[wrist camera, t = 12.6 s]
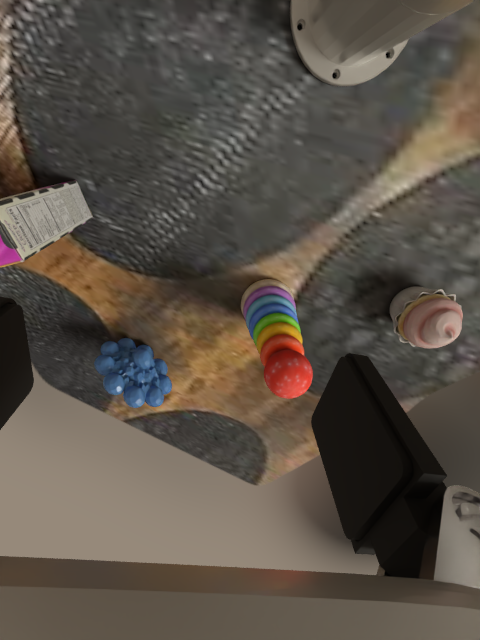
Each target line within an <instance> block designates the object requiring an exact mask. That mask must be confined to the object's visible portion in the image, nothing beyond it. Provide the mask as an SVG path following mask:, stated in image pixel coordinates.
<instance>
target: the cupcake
mask: <svg viewBox="0 0 480 640" xmlns="http://www.w3.org/2000/svg"><path fill="white" fill-rule="evenodd" d="M455 301H456V295H454V294H445V293H444V291H443V290H442V289H436V290H430V289H427V288H424V287H419V286H416V287H409V288H406V289H404V290H402V291H401V292H399V293H398V294H397V295H396V296H395V297H394V298H393V300H392V302H391V304H390V309H389V310H390V315H391V318H392V320H393V323H394V332H395V333H396V334H397V335H399V339H400V341H401V342H403V343H406V342H409V343H410V344H411V345H412V346H413V347H414V346H419V347H423V348H437V347H441V346H444V345H447V344H449V343H451V342H452V341H453V340H455V339H456V338H457V337H458V335H459V334H460V331H461V328H462V327H461V322H462V318H463V313H462V310H461V306H460V305H458V304H457V303H456V302H455Z"/></svg>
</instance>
